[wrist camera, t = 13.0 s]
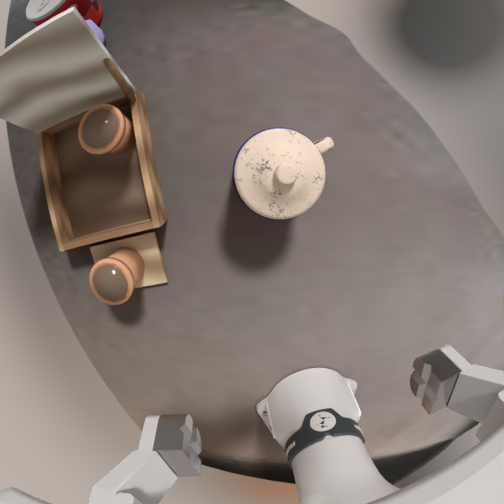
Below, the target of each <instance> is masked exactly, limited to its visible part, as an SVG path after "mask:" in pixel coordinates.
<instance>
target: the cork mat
mask: <svg viewBox="0 0 504 504" xmlns="http://www.w3.org/2000/svg"><path fill="white" fill-rule="evenodd" d="M122 247H130V248H133V249H135V250H136V251H137V252H139V254H140V255H141V256H142V258H143V260H144V265H145V268H144V273H143V275H142V276H141V278H140V279H139V280H138V282H137V283H136V285H135V286H134V288H139V287H144V286H150V285H156V284H161V283H166V282H168V278H167V275H166V271H165V268H164V264H163V261H162V257H161V253H160V249H159V246H158V242H157V238H156V234H155V231H154V232H149V233H145V234H141V235H136V236H132V237H128V238H124V239H119V240H115V241H111V242H107V243H103V244H99V245H95V246H91V247H90V250H91V253H92V256H93V260H94V263H95V264H96V263H97V262H99V261H100V260H101V259H103V258H107V257H109V256H110V255H111V254H112V253H114V252H115V251H116V250H117V249H119V248H122Z"/></svg>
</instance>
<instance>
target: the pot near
mask: <svg viewBox="0 0 504 504" xmlns="http://www.w3.org/2000/svg"><path fill="white" fill-rule="evenodd" d="M78 137H79V141H80V144H81V146H82V147H83V148H84V149H85V150H86V151H87V152H89V153H93V154H105V153H108V152H109V153H124V152H126V151H128V150H129V149H130V148H132V147H133V145H134V144H135V142H136V138H135V131H134V125H133V119H132V118H130V117H128V116H126V115H124V114H123V113H122V112H121V111H120V110H119V109H118V108H116V107H115V106H112V105H110V104H99V105H96V106H94V107H93V108H91V109H90V110H89V111H88V112H87V113H86V114H85V115H84V116H83V118H82V120H81V122H80V125H79V129H78Z"/></svg>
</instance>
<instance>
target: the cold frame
mask: <svg viewBox="0 0 504 504" xmlns="http://www.w3.org/2000/svg"><path fill="white" fill-rule="evenodd" d="M99 104H110V105H112V106H115V107H116V108H118V109H119V110H120V111H121V112H122V113H123V114H124V115H126V116H128V117H130V118H132V119H133V125H134V131H135V138H136V142H135V144H134V145H133V147H132V148H130V149H129V150H128V151H126V152H124V153H109V152H108V153H105V154H93V153H89V152H87V151H86V150H85V149H84V148H83V147H82V146H81V144H80V141H79V137H78V129H79V125H80V122H81V120H82V118H83V116H84V115H85V114H86V113H87V112H88V111H89V110H90V109H91V108H93V107H94V106H96V105H99ZM0 118H1V119H4V120H6V121H8V122H10V123H13V124H15V125H17V126H20V127H22V128H24V129H26V130H29V131H31V132H33V133H35V134H37V139H38V148H39V156H40V164H41V170H42V177H43V182H44V188H45V193H46V198H47V203H48V207H49V212H50V216H51V220H52V224H53V228H54V232H55V236H56V239H57V243H58V246H59V250H60V252H61V251H65V250H68V249H72V248H76V247H80V246H83V245H87V244H91V243H95V242H99V241H103V240H107V239H111V238H115V237H119V236H123V235H127V234H131V233H136V232H140V231H144V230H148V229H153V228H157V227H161V226H162V225H163V224H164V223H165V222H166V221H167V217H166V212H165V208H164V203H163V199H162V194H161V189H160V185H159V180H158V175H157V169H156V164H155V159H154V153H153V148H152V142H151V136H150V130H149V124H148V118H147V111H146V104H145V97H144V95H143V94H142V93H141V92H140V91H139V90H138V89H136V88H135V87H134V86H133V85H132V83H131V82H130V80H129V79H128V78H127V76H126V75H125V74H124V72H123V71H122V70H121V68H120V67H119V66H118V64H117V63H116V62H115V60H114V59H113V58H112V56H111V55H110V54H109V52H108V51H107V49H106V48H105V47H104V45H103V44H102V43H101V41H100V40H99V39H98V37H97V36H96V35H95V33H94V32H93V31H92V29H91V28H90V27H89V25H88V24H87V23H86V21H85V20H84V19H83V17H82V16H81V15H80V13H79V12H78V10H77V9H76V8H75V6H73V7H71V8H69V9H68V10H66V11H64V12H62V13H60V14H58V15H56V16H55V17H53V18H51V19H49V20H48V21H46V22H44V23H43V24H41V25H39V26H38V27H36V28H35V29H33V30H31V31H30V32H28V33H27V34H25V35H24V36H22V37H21V38H20V39H18V40H17V41H15V42H14V43H12V44H11V45H10V46H8V47H7V48H6V49H4V50H3V51H2V52H1V53H0Z"/></svg>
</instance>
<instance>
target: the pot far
mask: <svg viewBox="0 0 504 504" xmlns="http://www.w3.org/2000/svg"><path fill="white" fill-rule="evenodd" d="M144 268H145V265H144V260H143V258H142V256H141V255H140V254H139V252H137V251H136V250H135V249H133V248H130V247H122V248H119V249H117V250H116V251H115V252H114V253H112V254H111V255H110V256H109V257H107V258H103V259H101V260H100V261H99V262H97V263H96V264H95V265H94V266H93V268H92V269H91V272H90V284H91V288H92V290H93V292H94V293H95V295H96V296H97V297H98V298H99V299H100V300H102V301H103V302H105V303H107V304H111V305H119V304H122V303H124V302H126V301H127V300H128V299H129V297H130V296H131V294H132V293H133V290H134V286H135V285H136V283H137V282H138V280H139V279H140V278H141V276H142V275H143V273H144Z"/></svg>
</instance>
